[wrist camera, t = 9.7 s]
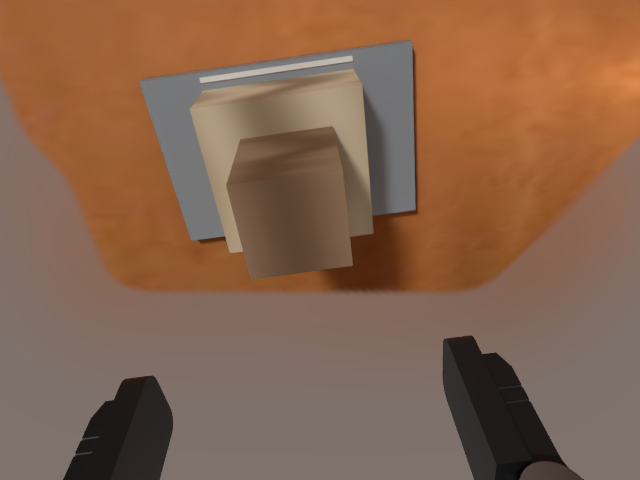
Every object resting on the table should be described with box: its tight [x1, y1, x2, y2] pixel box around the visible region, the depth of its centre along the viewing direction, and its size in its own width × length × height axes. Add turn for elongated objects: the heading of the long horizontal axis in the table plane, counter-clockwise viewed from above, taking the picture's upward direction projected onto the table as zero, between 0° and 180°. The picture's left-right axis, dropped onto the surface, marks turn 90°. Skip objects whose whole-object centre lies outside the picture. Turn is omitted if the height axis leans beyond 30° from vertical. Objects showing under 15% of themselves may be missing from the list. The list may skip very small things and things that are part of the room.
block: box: [226, 126, 353, 279], centre depth 23 cm, size 5×5×6 cm
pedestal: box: [190, 69, 374, 253], centre depth 27 cm, size 9×9×4 cm
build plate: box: [139, 40, 416, 241], centre depth 29 cm, size 16×11×1 cm
